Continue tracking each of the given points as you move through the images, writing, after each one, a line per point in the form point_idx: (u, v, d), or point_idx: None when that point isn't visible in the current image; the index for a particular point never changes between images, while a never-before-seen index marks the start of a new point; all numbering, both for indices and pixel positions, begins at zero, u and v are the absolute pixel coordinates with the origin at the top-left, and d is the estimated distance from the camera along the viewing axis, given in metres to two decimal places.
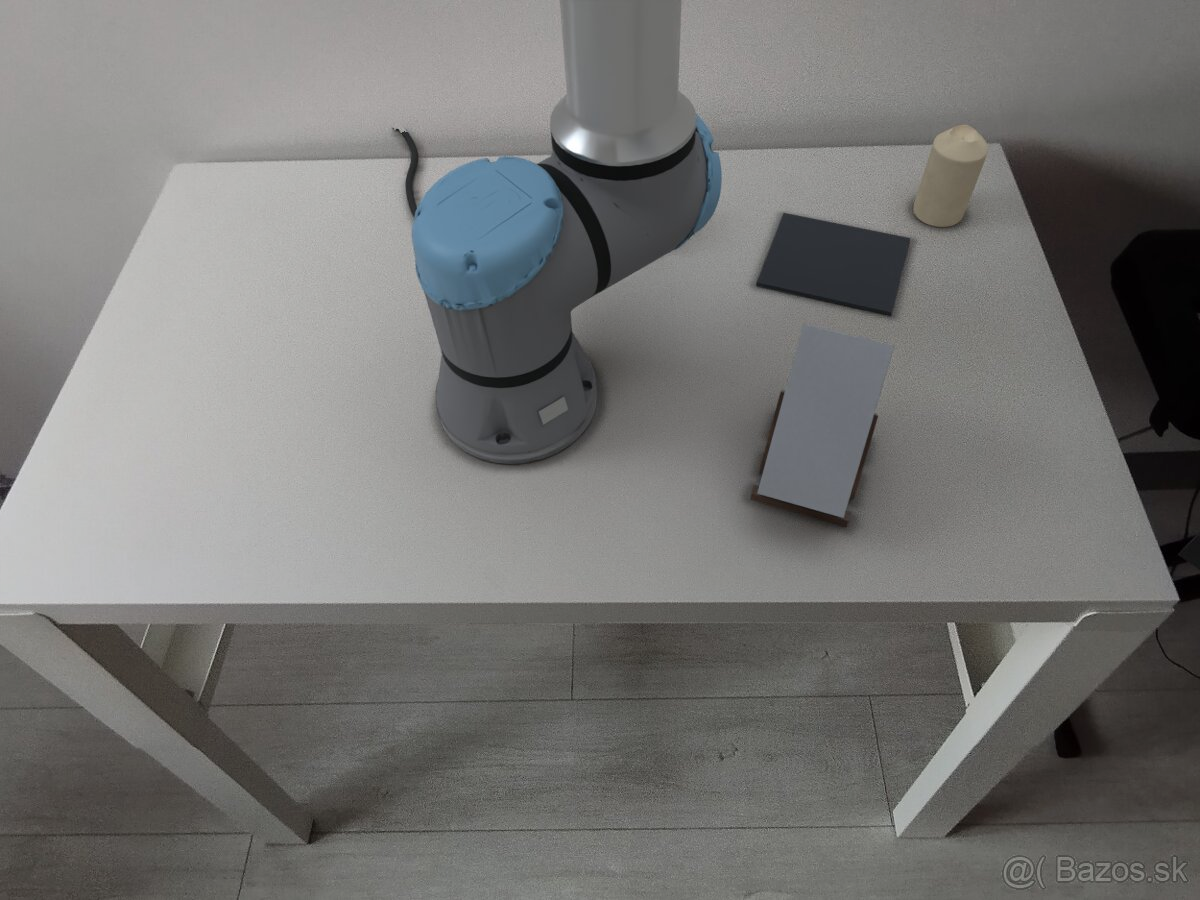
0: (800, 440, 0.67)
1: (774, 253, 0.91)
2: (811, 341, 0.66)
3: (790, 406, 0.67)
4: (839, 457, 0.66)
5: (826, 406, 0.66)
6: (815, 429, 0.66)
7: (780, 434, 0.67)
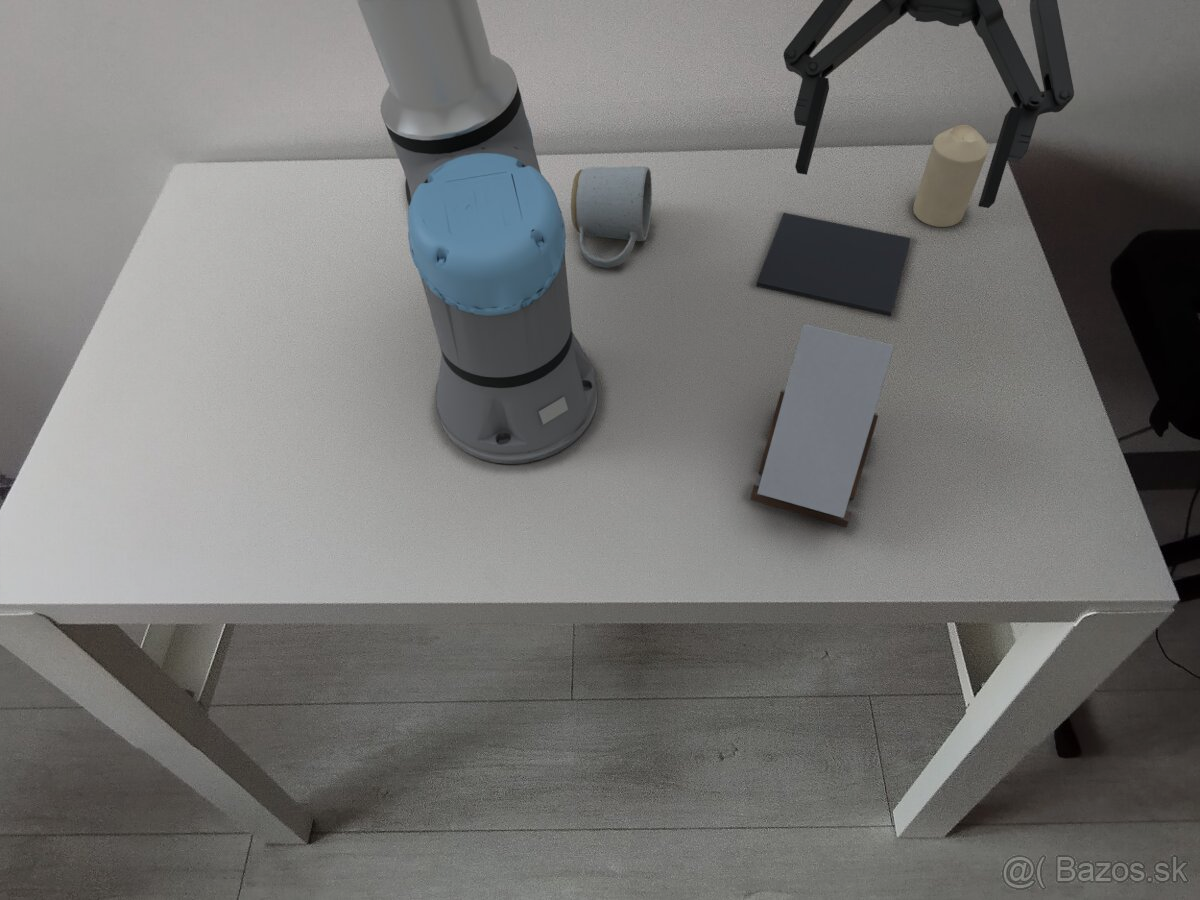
0: (800, 440, 0.67)
1: (774, 253, 0.91)
2: (811, 341, 0.66)
3: (790, 406, 0.67)
4: (839, 457, 0.66)
5: (826, 406, 0.66)
6: (815, 429, 0.66)
7: (780, 434, 0.67)
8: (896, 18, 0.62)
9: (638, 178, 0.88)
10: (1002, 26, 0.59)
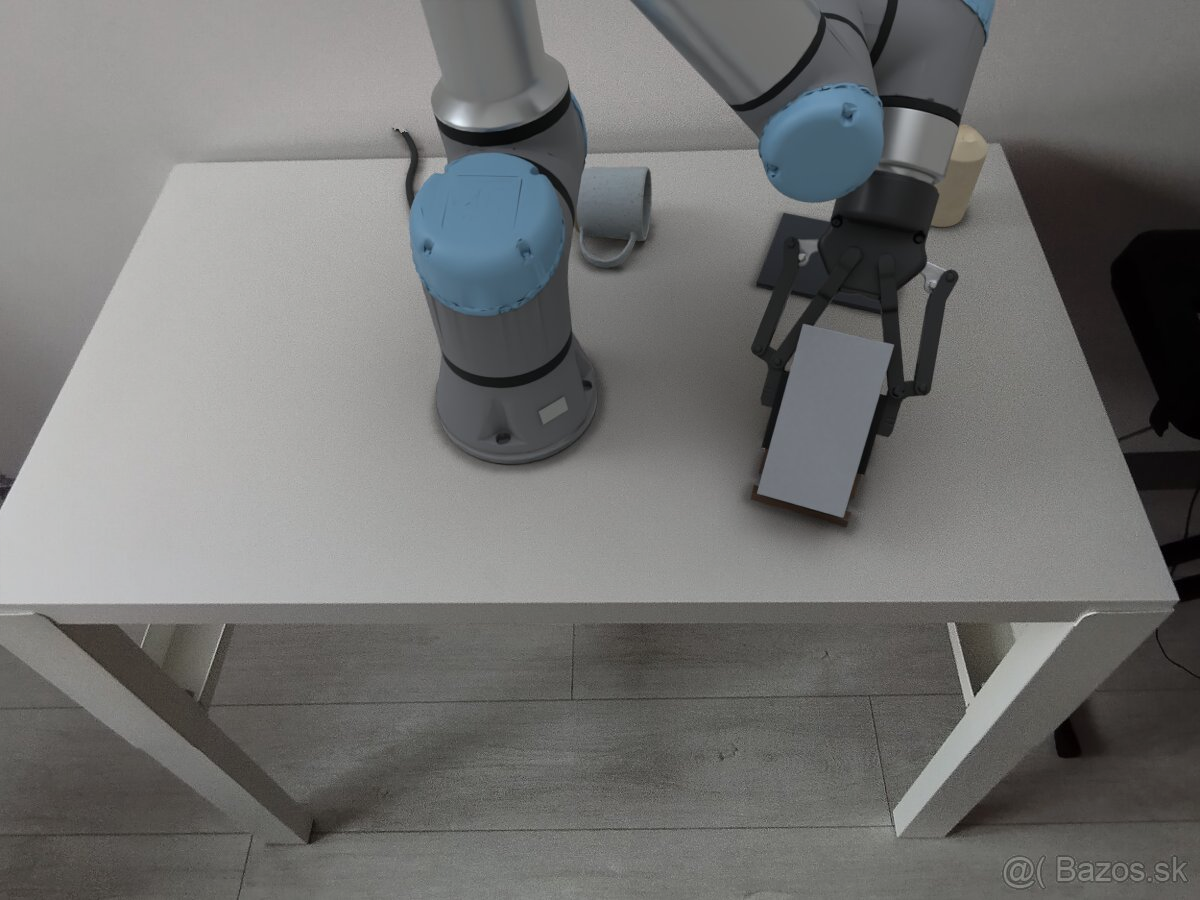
0: (800, 440, 0.67)
1: (774, 253, 0.91)
2: (811, 341, 0.66)
3: (790, 406, 0.67)
4: (839, 457, 0.66)
5: (826, 406, 0.66)
6: (815, 429, 0.66)
7: (780, 434, 0.67)
8: (834, 296, 0.69)
9: (638, 178, 0.88)
10: (894, 319, 0.66)
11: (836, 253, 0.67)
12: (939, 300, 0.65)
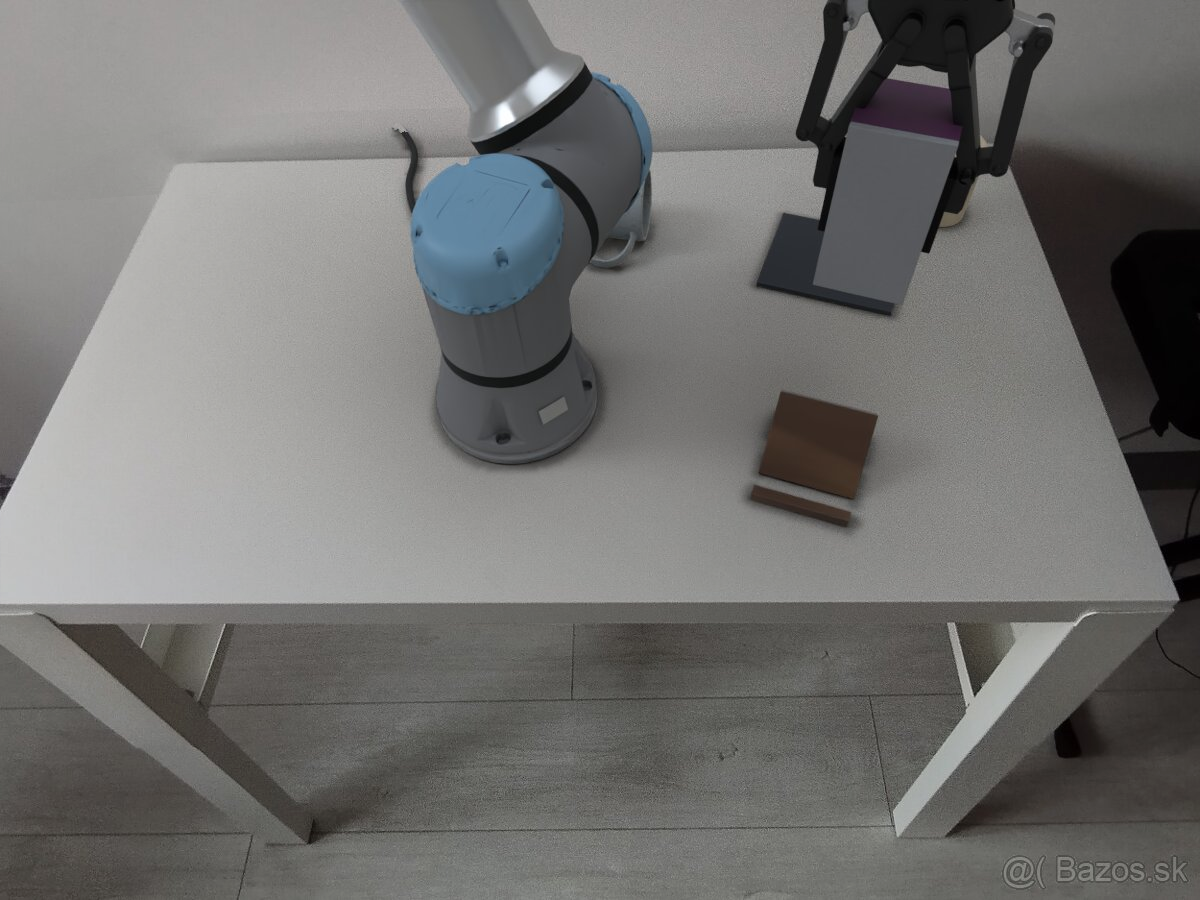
0: (853, 239, 0.62)
1: (774, 253, 0.91)
2: (859, 144, 0.56)
3: (840, 209, 0.61)
4: (895, 254, 0.62)
5: (880, 208, 0.59)
6: (869, 230, 0.61)
7: (832, 234, 0.63)
8: None
9: None
10: (965, 96, 0.54)
11: (891, 19, 0.52)
12: (1024, 71, 0.51)
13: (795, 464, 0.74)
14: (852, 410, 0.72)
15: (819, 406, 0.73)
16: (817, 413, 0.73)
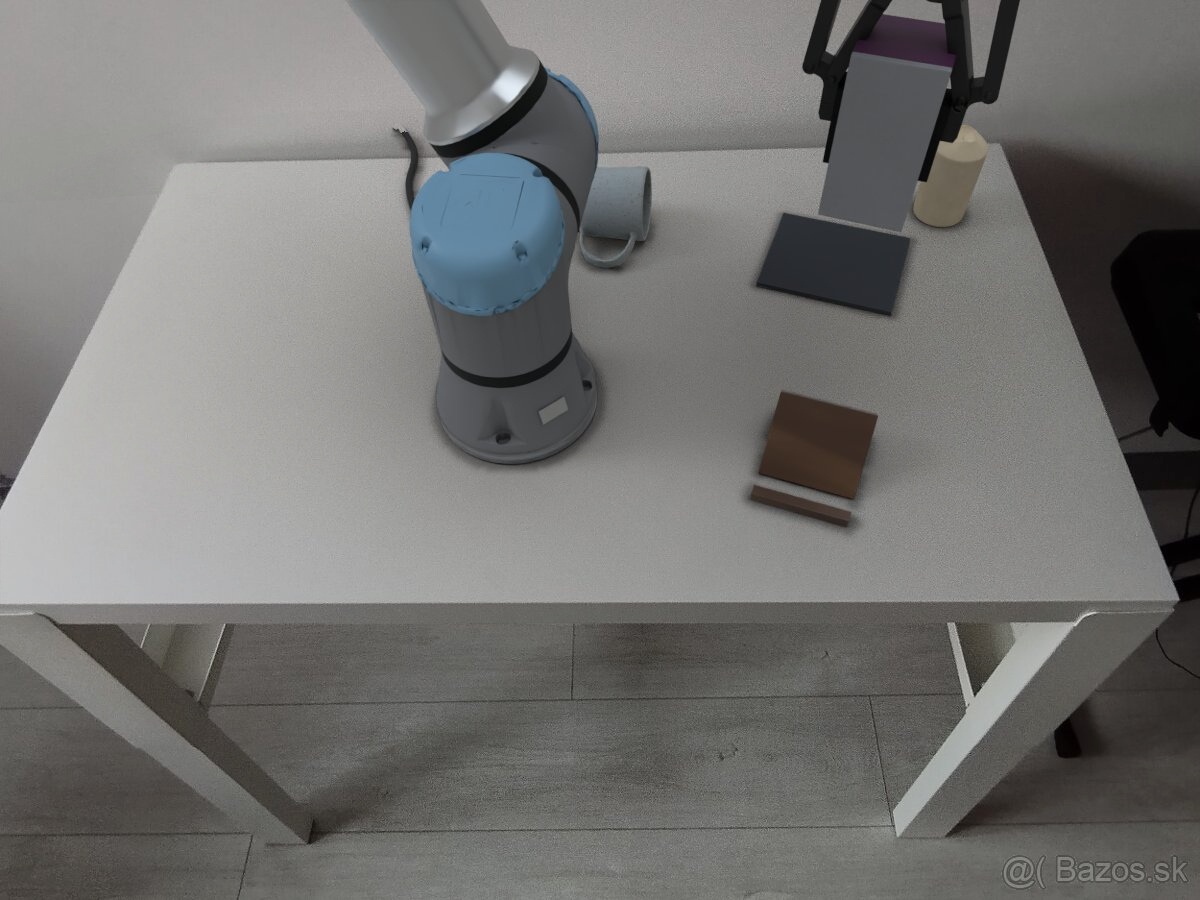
0: (855, 168, 0.67)
1: (774, 253, 0.91)
2: (860, 73, 0.61)
3: (843, 137, 0.65)
4: (895, 181, 0.67)
5: (880, 136, 0.64)
6: (870, 157, 0.66)
7: (835, 163, 0.67)
8: None
9: (638, 178, 0.88)
10: (958, 25, 0.58)
11: None
12: (1012, 0, 0.56)
13: (795, 464, 0.74)
14: (852, 410, 0.72)
15: (819, 406, 0.73)
16: (817, 413, 0.73)
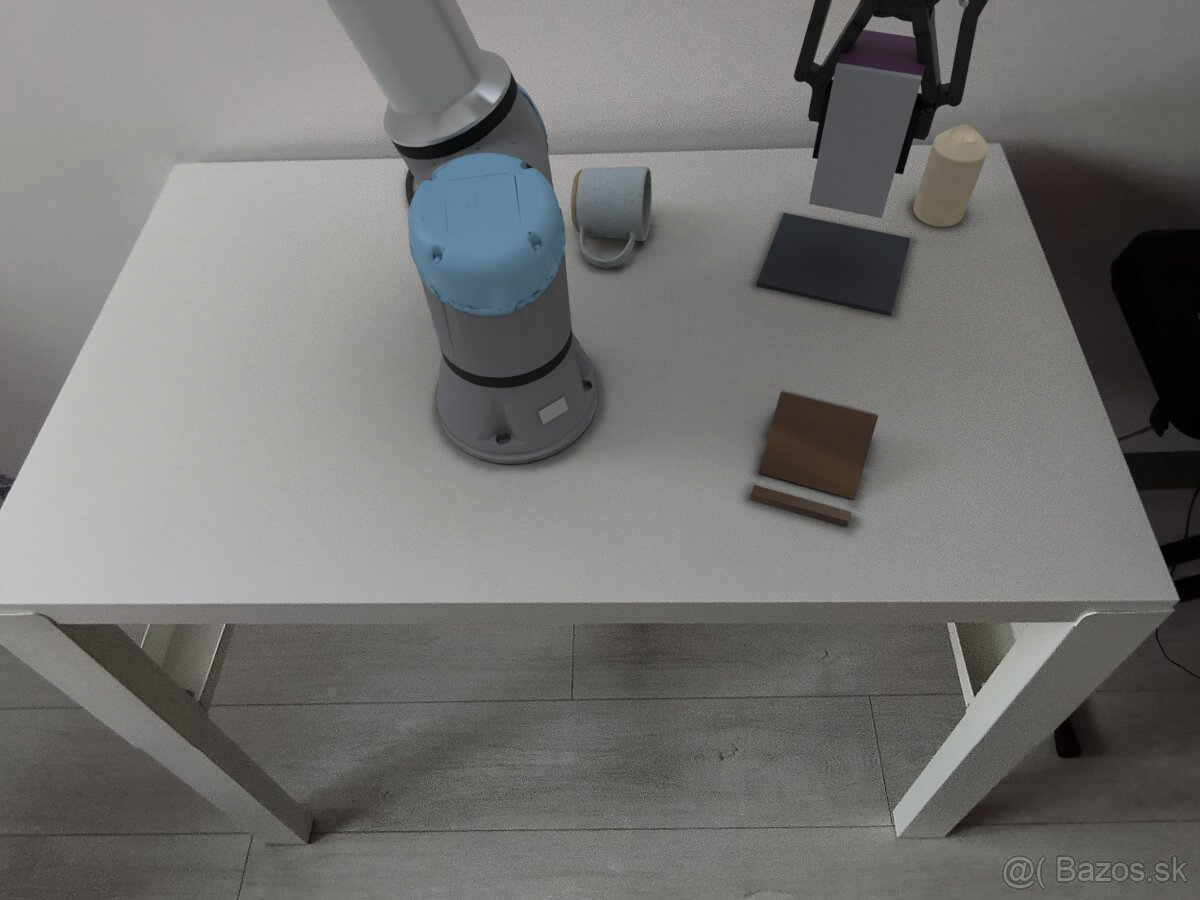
0: (841, 162, 0.77)
1: (774, 253, 0.91)
2: (844, 81, 0.71)
3: (830, 136, 0.76)
4: (875, 173, 0.77)
5: (861, 134, 0.74)
6: (853, 153, 0.76)
7: (823, 158, 0.78)
8: None
9: (638, 178, 0.88)
10: (926, 40, 0.69)
11: None
12: (970, 19, 0.66)
13: (795, 464, 0.74)
14: (852, 410, 0.72)
15: (819, 406, 0.73)
16: (817, 413, 0.73)
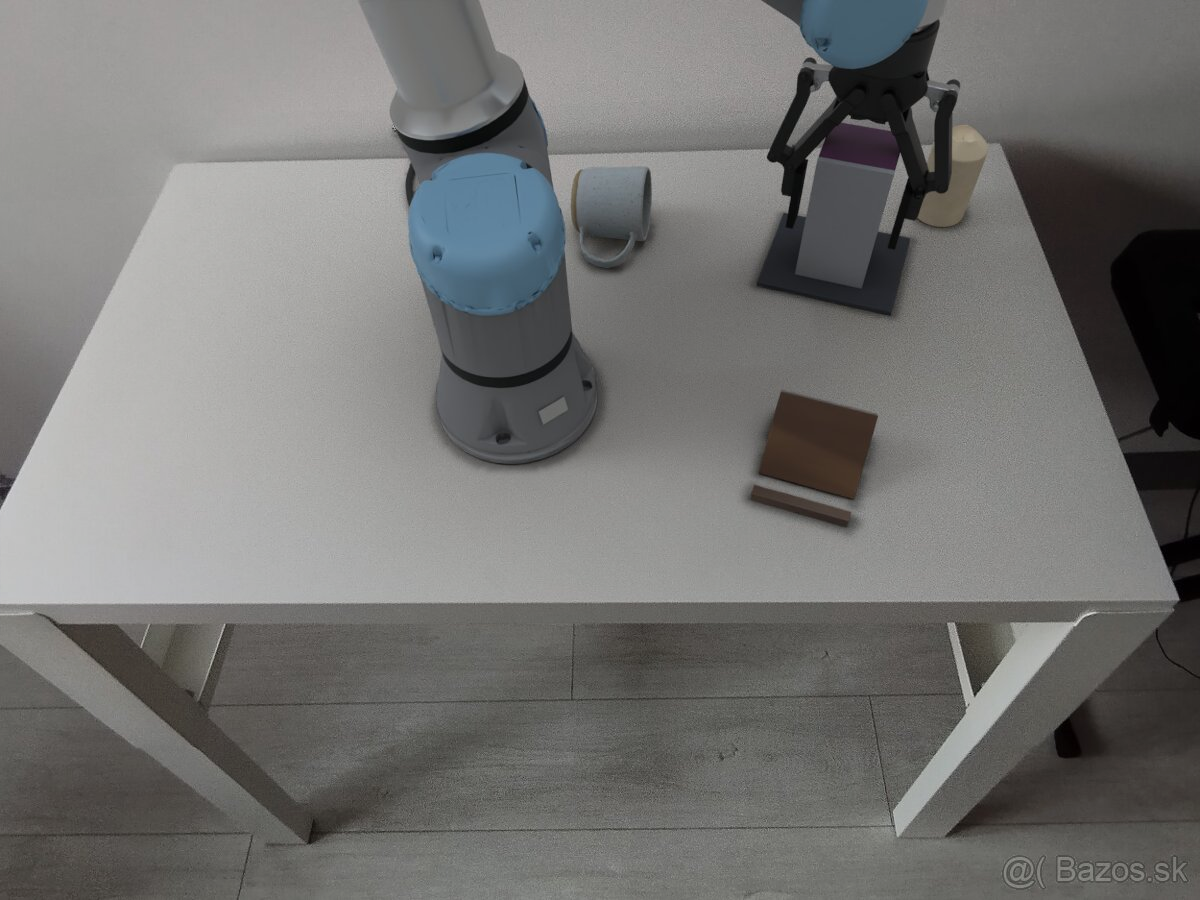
0: (823, 240, 0.85)
1: (774, 253, 0.91)
2: (825, 172, 0.79)
3: (813, 218, 0.83)
4: (854, 251, 0.84)
5: (841, 218, 0.82)
6: (835, 233, 0.83)
7: (808, 236, 0.85)
8: None
9: (638, 178, 0.88)
10: (906, 138, 0.76)
11: (843, 89, 0.74)
12: (943, 120, 0.73)
13: (795, 464, 0.74)
14: (852, 410, 0.72)
15: (819, 406, 0.73)
16: (817, 413, 0.73)
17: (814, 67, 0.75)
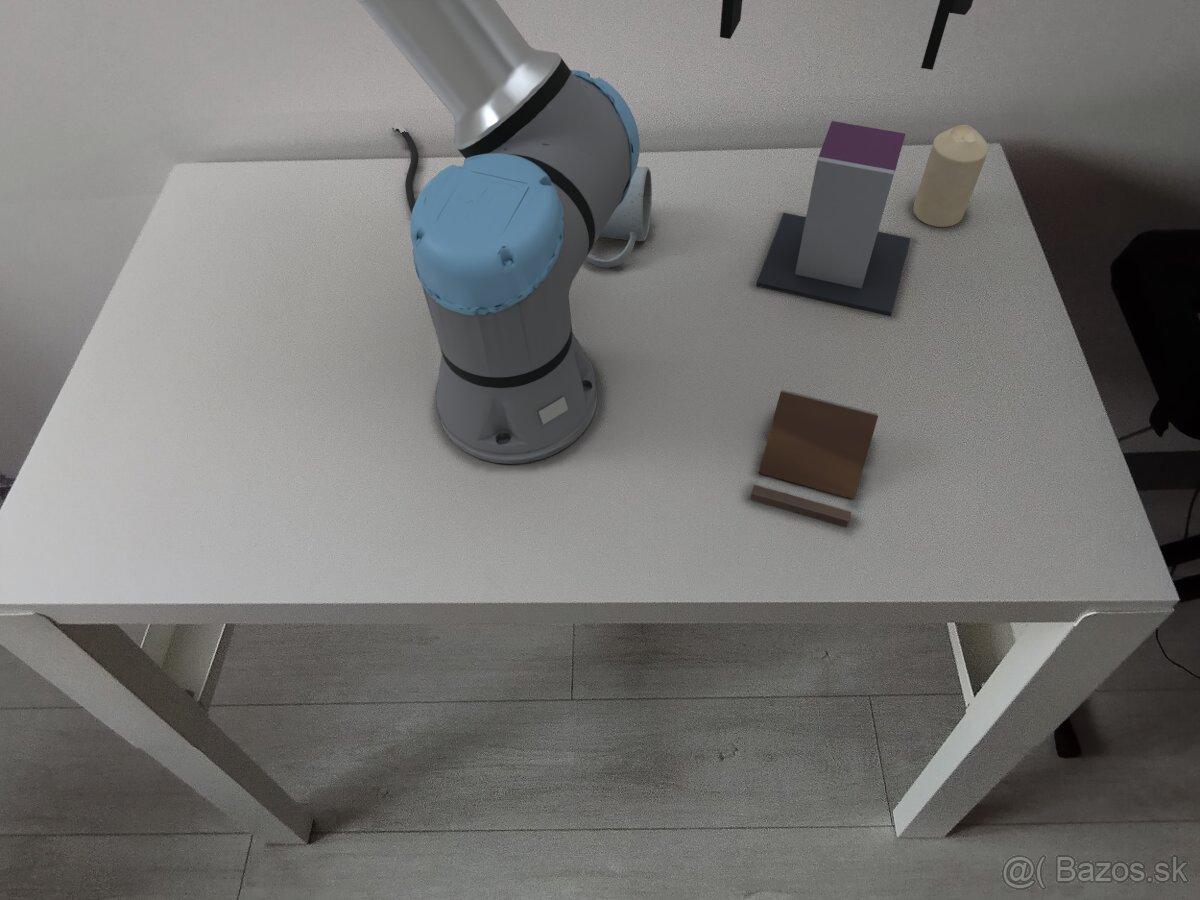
0: (823, 240, 0.85)
1: (774, 253, 0.91)
2: (825, 172, 0.79)
3: (813, 218, 0.83)
4: (854, 251, 0.84)
5: (841, 218, 0.82)
6: (835, 233, 0.83)
7: (808, 236, 0.85)
8: None
9: (638, 178, 0.88)
10: None
11: None
12: None
13: (795, 464, 0.74)
14: (852, 410, 0.72)
15: (819, 406, 0.73)
16: (817, 413, 0.73)
17: None
